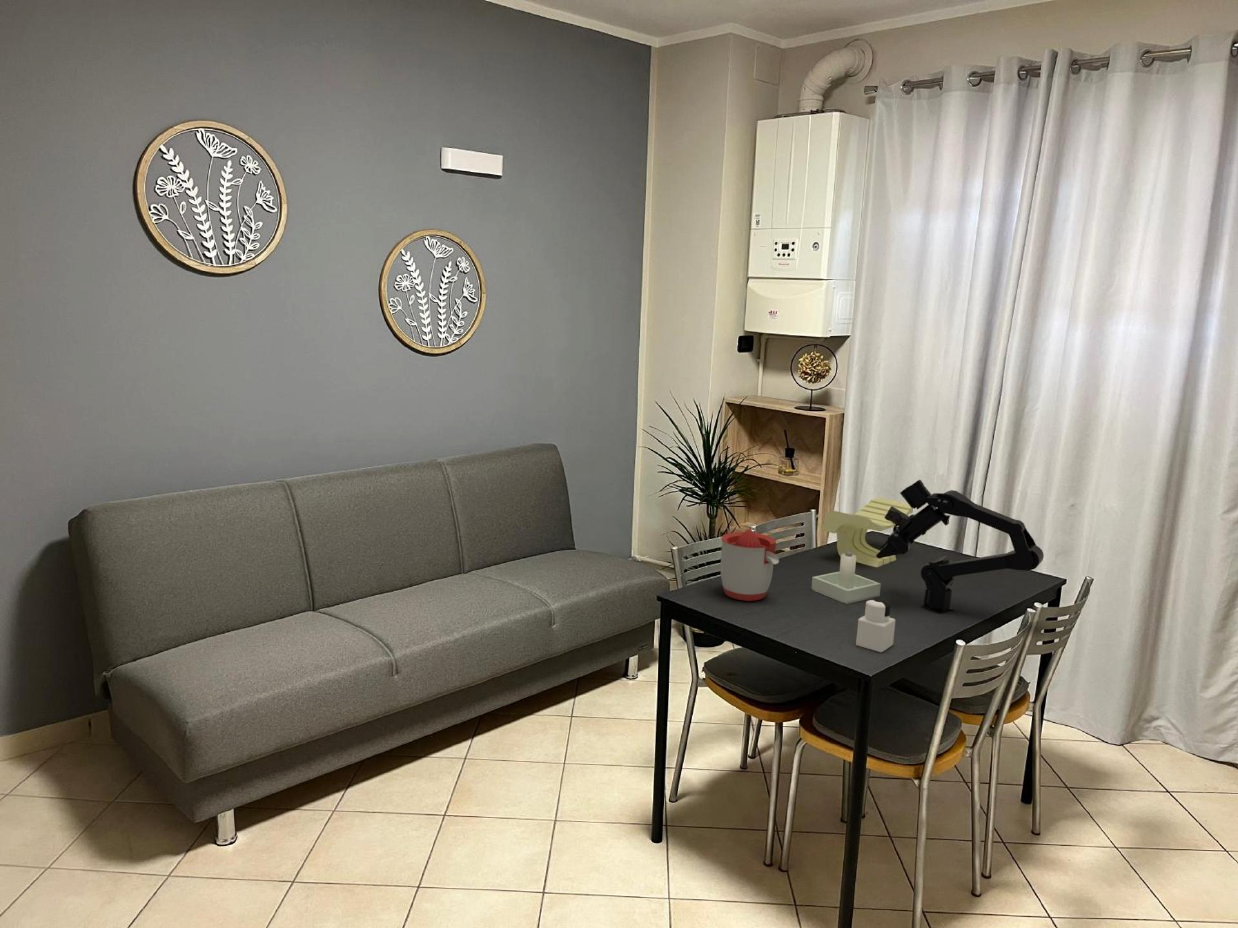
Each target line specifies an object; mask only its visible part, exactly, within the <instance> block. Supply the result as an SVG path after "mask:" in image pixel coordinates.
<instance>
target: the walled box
mask: <svg viewBox="0 0 1238 928" xmlns="http://www.w3.org/2000/svg"><path fill="white" fill-rule="evenodd" d="M839 573H840V571H836V572H835V571H834V572H830V573H826V574H821V575H815V576H812V579H811V591H813V592H816V593H817V594H821V595H823V596H826V597H829V598H831V599H832V600H836V601H838V602H840V603H843V604H845V605H849V604H853V603H858V602H861V601H867V600H868V599H872V598H879V597H880V595H881V586H882V583H880V582H878V581H875V580H872V579H869V578H866V577H864V576H861V575H858V574H856V573H855V577H854V588H852V589H845V588H843V587H840V586H838V585H839Z"/></svg>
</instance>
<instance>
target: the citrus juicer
mask: <svg viewBox="0 0 1238 928" xmlns="http://www.w3.org/2000/svg"><path fill="white" fill-rule="evenodd" d="M721 541H722V542H721V555H720V577H721V584H722V589H723V591H724V594H725V596H727V597H729V598H731V599H735V600H738V601H745V602H753V601H758V600H761V599H764V598H765V597H766V595H767V592H768V591H769V587H770V585H771V582H772V578H773V572H774V570H773V569H774V565H777V564H779V562H780V559H779V556H778V555H776V545H777V541H776V540H775V539H774V538H773V537H771V536H769V535H766V534H763V533H762V534H761V533H756V532H754V531H753V530H752V529H750V528H747V529H746V530H745V531H740V532H739V531H737V532H736V531H735V532H729V533H725V534H723V535H721Z"/></svg>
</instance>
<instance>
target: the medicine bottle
mask: <svg viewBox="0 0 1238 928" xmlns="http://www.w3.org/2000/svg"><path fill="white" fill-rule="evenodd" d="M865 601H866V602H865V610H864V615H862V616H860V618H858V619H857V625H856V627H857V629H856V638H855V639H856V640H855V645H856V646H858V647H861V648H865V649H868V650H871V651H874V652H878V653H882V652H884V651H886V650H887V649H889V648H890V647H892V646H893V645H894V638H895V628H896V619H895V618H892V617H890V615H891V609H892V608H891V606H892V604H891V603H890V601H888V600H886V599H883V598H879V597H875V598H871V599H867V600H865Z"/></svg>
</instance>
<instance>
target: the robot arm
mask: <svg viewBox="0 0 1238 928" xmlns="http://www.w3.org/2000/svg"><path fill="white" fill-rule="evenodd" d="M899 494H900V496H902V498H903V499H904V501H906V502H905V503H907V504H909V505H910V507H911V508H913V510H915V509H916V510H919V509H920V510H919V511H918V512H916V513H915V514H914V513H911V515H909V516H907V515H906V514H904V513H903V512H901V511H899V510H898V509H896V508H894V507H892V506H891V508H890V509H889V511H888V512H887V514H886V515H885V517H884V518H885V519H886V520H888V521H891V522H892V523H894V524H896V525H895V526H893V527H892V532H891V533H890V534H889V535H888V537H887V539H886V541H885V542H884V543H883V544H882V545H881V546H880V552H879V553H878V554H877V555H876V557H877V558H883V557H888V556H893V555H895V556H898V555H904V554H906V553H907V552H909V550H910V547H911V546H910V545H912V544H913V543H914V542H915V541H916V539H918V538H920V537H921V536H924V535H926V534H927V532H928V531H930V530H931V529H933V528H934V527H935V526H937V525H938V524H939V523H940V522H942V524H943V525H944V526H948V525H949V524H950V518H951V516H955V517H960V518H961V517H964V518H967V519H970V520H973V521H976V522H978V523H980V524H982V525H985V526H988V527H991V528H992V529H994V530H998V531H1000V532H1003V533H1005V534H1007V535H1008V536H1009V539H1010V541H1011V544H1012V547H1013V550H1011V551H1008V552H1006V553H1000V554H999V553H998V554H992V555H988V556H980V557H975V558H968V559H961V560H951V559H950V557H949V555H945V556H942V557H936V556H935V557H933V558H932V559H931V560H930V561H928V563H926V564H925V565H924V566H923V567H922V568H921V570H920V576H921V579H922V580H923V581H924V583H925V586H926V587H925V588H926V589H924V601H923V603H922V604H921V606H920V607H922V608H925V609H927V610H929V611H932V612H934V613H938V614H941V613H942V614H943V613H946V612H950V611H953V610H954V607H952V606H951V604H952V602H951V601H952V593H953V592H952V591H953V590H952V589H951V587H952V586H953V584H954V582H955V577H959V576H964V575H972V574H980V573H986V572H991V571H992V572H993V571H998V570H1011V571H1012V570H1014V571H1026V572H1027V571H1033V570H1035V569H1036V568H1037V567H1039V565H1040V564H1041V563H1042V561H1043V560H1044V556H1045V555H1044V551H1043V550H1042V549H1041V548H1040V546H1038V545H1037V544H1036V542H1035V541H1036V540H1034V538H1033V536H1032V535H1031V534H1030V532H1029V531H1028V529H1027V528H1026V525H1025V523H1024V522H1023V521H1022V520H1019V519H1015V518H1013V517H1010V516H1007V515H1005V514H1002V513H999V512H997V511H994V510H992V509H989V508H987V507H984V506H981V504H977V503H975V502H973V501H972V500H971V499H970V498H968V497H967V496H966V495H964V494H962V493H961V492H959V491H957V490H953V489H949V490H948V491H945V492H941V493H939V492H934V493H931V491H929V490H928V488H927V487H926V486H925V484H924V482H923V481H922V480H921V479H919V480H916V481H915V482H913V483H912V484H911V485H909V486H907V487H905V488H904V489H902V491H900V492H899ZM926 504H927V505H926ZM925 505H926V506H925ZM923 506H925V507H923ZM922 507H923V508H922Z"/></svg>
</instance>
